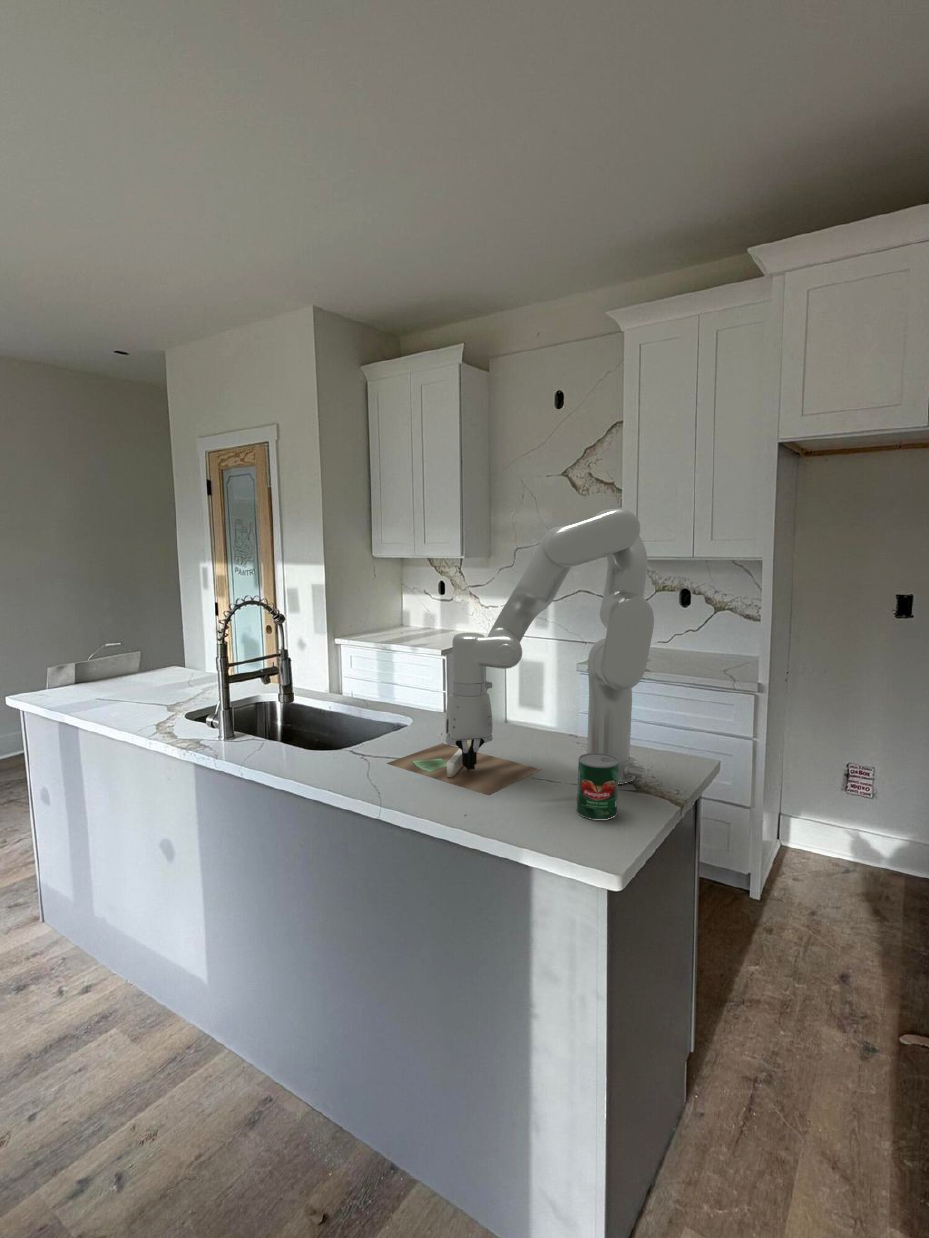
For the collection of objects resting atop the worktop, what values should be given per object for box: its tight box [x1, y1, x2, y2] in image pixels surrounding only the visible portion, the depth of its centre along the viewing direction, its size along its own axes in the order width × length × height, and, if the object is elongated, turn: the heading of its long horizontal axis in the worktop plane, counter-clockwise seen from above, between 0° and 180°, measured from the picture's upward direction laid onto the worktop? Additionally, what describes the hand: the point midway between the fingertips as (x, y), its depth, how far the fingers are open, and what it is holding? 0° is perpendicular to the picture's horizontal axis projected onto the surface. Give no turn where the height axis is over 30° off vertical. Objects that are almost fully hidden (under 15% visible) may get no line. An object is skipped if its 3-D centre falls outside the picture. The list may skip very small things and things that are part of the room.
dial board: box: [386, 742, 542, 796], centre depth 159 cm, size 30×20×1 cm, turn 51°
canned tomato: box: [576, 753, 619, 819], centre depth 136 cm, size 8×8×11 cm
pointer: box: [447, 740, 471, 777], centre depth 158 cm, size 16×3×3 cm, turn 164°
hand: (469, 767), depth 156 cm, fingers closed
